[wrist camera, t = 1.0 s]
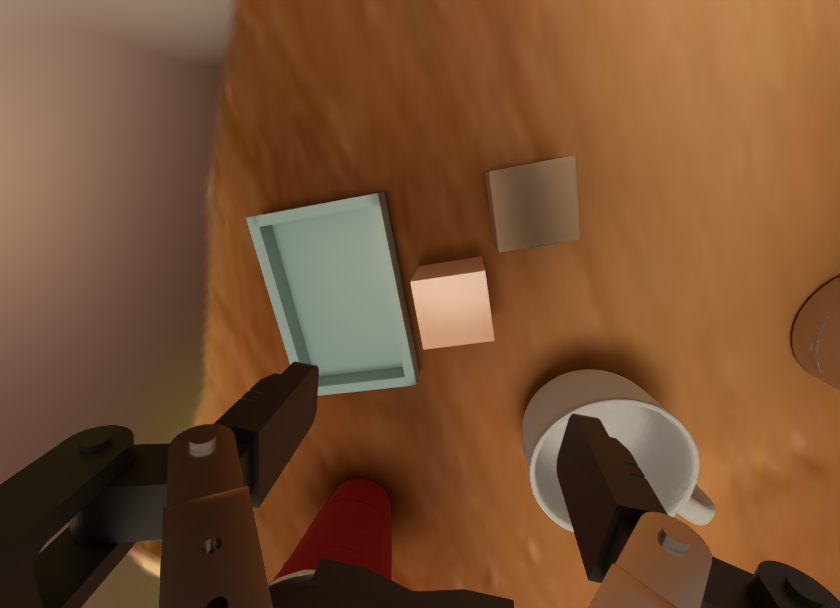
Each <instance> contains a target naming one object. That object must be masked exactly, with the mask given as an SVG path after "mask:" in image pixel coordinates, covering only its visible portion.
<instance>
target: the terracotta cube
mask: <svg viewBox="0 0 840 608" xmlns="http://www.w3.org/2000/svg"><path fill="white" fill-rule="evenodd" d="M410 283H411V288H412V293H413V298H414V304H415V309H416V314H417V319H418V325H419V330H420V335H421V340H422V345H423V350H424V349H432V348H440V347H448V346H457V345H465V344H473V343H481V342H489V341H495V340H494V333H493V325H492V318H491V310H490V303H489V295H488V288H487V280H486V273H485V268H484V264H483V260H482V256H481V257H474V258H468V259H462V260H455V261H449V262H442V263H436V264H430V265H423V266H418V268H417V270H416V272H415V274H414V276H413V278H412V279H411V281H410Z"/></svg>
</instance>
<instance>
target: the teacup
mask: <svg viewBox="0 0 840 608" xmlns="http://www.w3.org/2000/svg"><path fill="white" fill-rule="evenodd" d="M571 414H579V415H585V416H590V417H595V418H599V419H600V420H601V422H602V424H603V426H604V428H605V429H606V431H607V433H608V435H609V437H612V438H616V439H617V440H618V441H620V442H621V443H622V444H623V445H624V446H625V447H626V448H627V449H628V450H629V451H630V452H631V454H632V455H633V457H634V459H635V460H636V462H637V464H638V467H640V469H641V470H642V472H643V474H644V475H645V479H647V480H648V482H649V484H650V485H651V487H652V489H653V491H654V492H655V494H656V496H657V497H658V499H659V501H660V502H661V504H662V506H663V507H664V509H665V511H666V512H667V514H668V515H669V516H671V517H674V516H675V515H676V514H677V513H678V514H679V515H680V516H682V517H683V518H685V519H686V520H688V521H690V522H692V523H694V524H696V525H706V524H707V523H709V522H710V521H711V519H712V518H713V517H714V516H715V511H716V509H715V506H714V504H713V503H712V501H711V500H710V498H709V497H708V496H707V495H706V494H705V493H704V492H703V491H702V490H701V489H700V488H699V487H698V486H697V485H696V483H697V479H698V476H699V467H700V464H699V454H698V450H697V447H696V444H695V441H694V439H693V437H692V436H691V434H690V432H689V431H688V430H687V428H686V427H685V426H684V425H683V424H682V423H681V422H680V421H679V420H678V419H677V418H676V417H675V416H674V415H672V414H671V413H670V412H668V411H666V410H665V409H664V408H663V407H662V406H661V405H660V404H659V403H658V402H657V401H656V400H655V399H653V398H652V397H651V396H650V395H649V394H648V393H646V392H645V391H644V390H643V389H642V388H640V387H639V386H638V385H636V384H635V383H633V382H632V381H630V380H628V379H626V378H624V377H622V376H620V375H617V374H615V373H611V372H608V371H603V370H592V369H584V370H576V371H572V372H568V373H565V374H562V375H560V376H558V377H556V378H554V379H552V380H550V381H549V382H548V383H546V384H545V385H544V386H542V387H541V388H540V389H539V390H538V391H537V392H536V393H535V395H534V396H533V397H532V399H531V400H530V402H529V404H528V406H527V408H526V411H525V414H524V417H523V423H522V442H523V448H524V454H525V458H526V462H527V466H528V470H529V479H530V485H531V488H532V491H533V494H534V496H535V498H536V500H537V502H538V504H539V506H540V507H541V508H542V510H543V511H544V512H545V513H546V514H547V515H548V516H549V518H551V519H552V520H553V521H554V522H556V523H557V524H559V525H560V526H561V527H563V528H565V529H566V530H568V531H572V532H573V533H574V530H573V527H572V524H571V520H570V517H569V514H568V510H567V507H566V504H565V500H564V497H563V494H562V490H561V487H560V484H559V480H558V477H557V469H556V465H557V456H558V453H559V449H560V446H561V443H562V439H563V436H564V433H565V430H566V426H567V423H568V420H569V417H570V416H571Z"/></svg>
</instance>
